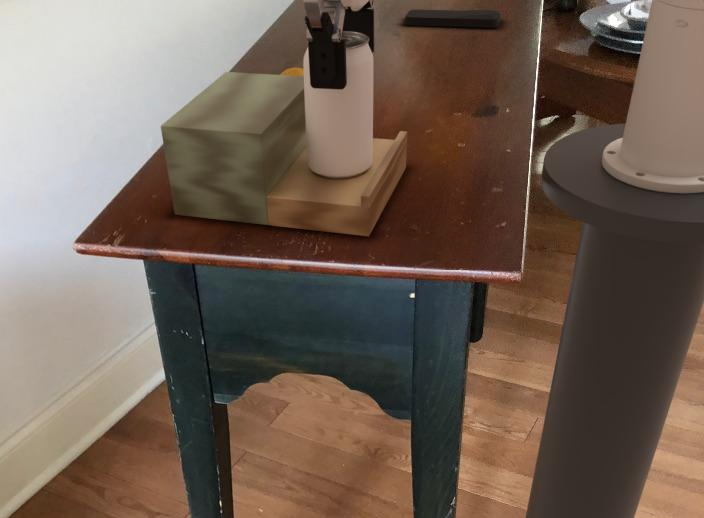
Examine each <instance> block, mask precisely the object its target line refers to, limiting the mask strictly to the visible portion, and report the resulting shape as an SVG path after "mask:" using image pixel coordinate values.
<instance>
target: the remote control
mask: <svg viewBox="0 0 704 518" xmlns="http://www.w3.org/2000/svg"><path fill="white" fill-rule="evenodd" d="M403 23H404V25H405V26H419V27H424V26H425V27H450V28H451V27H453V28H487V29H493V28H499V26H500V24H501V13H500V11H497V10H495V9H494V10H493V9H467V10H451V9H410V10H409V11H408V12H407V13H406V14H405V18H404V22H403Z"/></svg>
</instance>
